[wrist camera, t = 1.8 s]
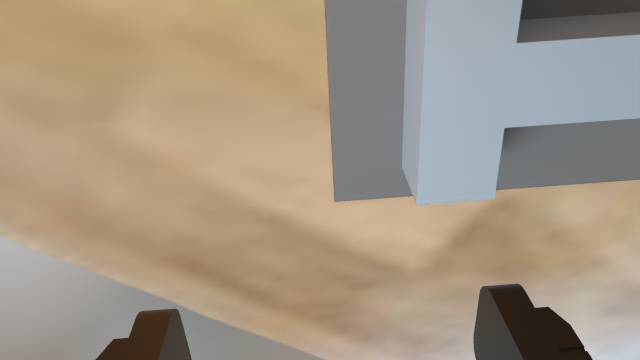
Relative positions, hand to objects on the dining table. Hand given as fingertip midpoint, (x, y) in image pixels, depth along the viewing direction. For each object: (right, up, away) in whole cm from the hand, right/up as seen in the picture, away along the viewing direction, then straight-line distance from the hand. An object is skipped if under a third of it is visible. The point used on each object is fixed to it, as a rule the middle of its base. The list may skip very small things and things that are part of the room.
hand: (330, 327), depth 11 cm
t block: (+10, +10, +15) cm, 21 cm away
